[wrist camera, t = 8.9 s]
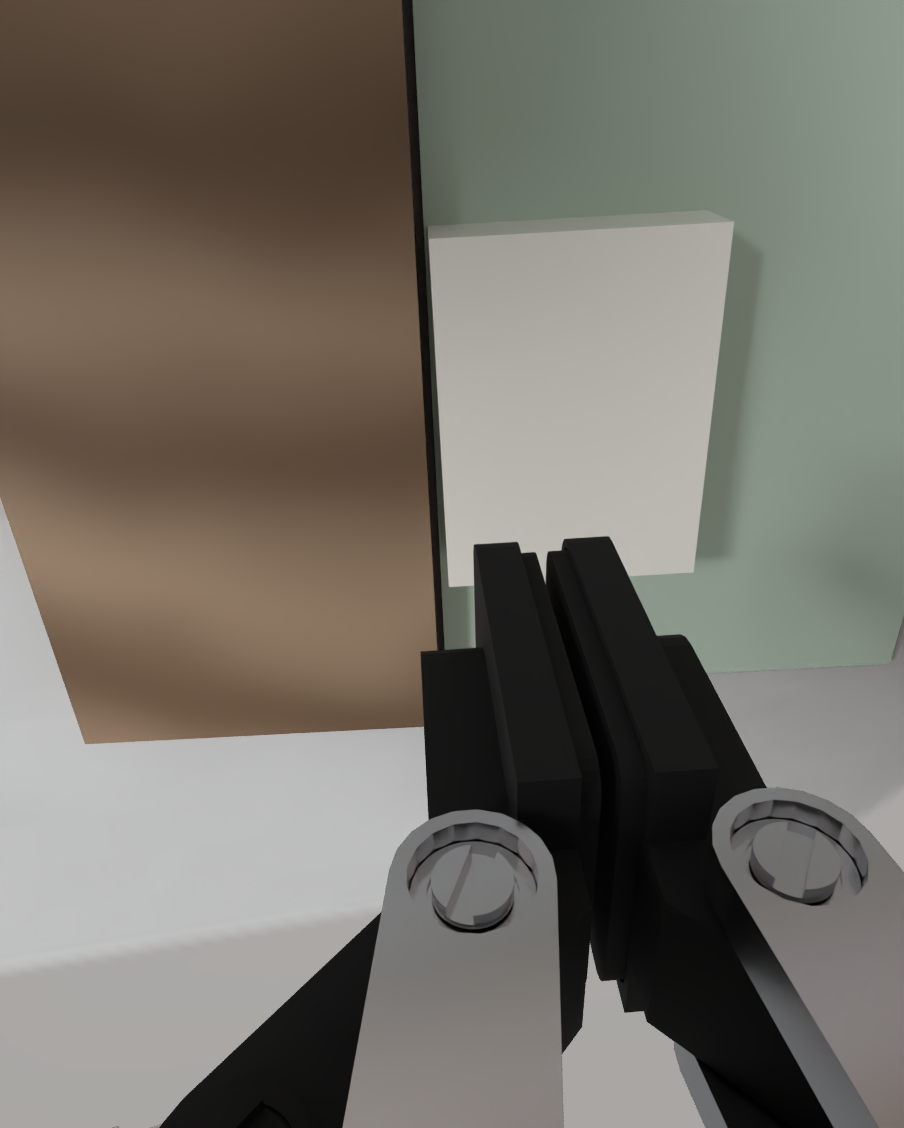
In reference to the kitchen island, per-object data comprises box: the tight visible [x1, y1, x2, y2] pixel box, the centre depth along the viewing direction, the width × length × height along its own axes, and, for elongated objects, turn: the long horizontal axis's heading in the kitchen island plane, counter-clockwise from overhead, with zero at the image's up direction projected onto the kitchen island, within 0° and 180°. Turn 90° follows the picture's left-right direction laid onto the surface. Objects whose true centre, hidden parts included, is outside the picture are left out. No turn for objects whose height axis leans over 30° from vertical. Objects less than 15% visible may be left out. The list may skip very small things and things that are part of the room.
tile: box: [428, 210, 734, 587], centre depth 19 cm, size 8×6×2 cm
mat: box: [412, 0, 904, 673], centre depth 20 cm, size 17×13×1 cm
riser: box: [0, 0, 438, 744], centre depth 19 cm, size 18×10×2 cm, turn 2°
